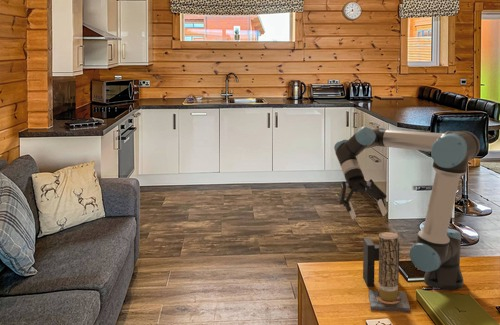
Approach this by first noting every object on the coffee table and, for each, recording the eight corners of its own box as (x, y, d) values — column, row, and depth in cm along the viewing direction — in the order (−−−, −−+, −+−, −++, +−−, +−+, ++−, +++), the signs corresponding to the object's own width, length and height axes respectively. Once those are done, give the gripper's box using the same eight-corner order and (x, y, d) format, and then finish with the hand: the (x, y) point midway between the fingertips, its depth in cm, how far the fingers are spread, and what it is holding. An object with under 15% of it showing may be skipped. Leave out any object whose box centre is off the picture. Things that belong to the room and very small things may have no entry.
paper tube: (398, 302, 183) (398, 238, 179) (379, 301, 184) (379, 237, 180) (397, 294, 189) (397, 232, 185) (378, 293, 191) (378, 232, 187)
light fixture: (401, 286, 200) (402, 245, 197) (367, 287, 201) (367, 245, 198) (395, 277, 210) (396, 237, 207) (362, 277, 211) (363, 237, 208)
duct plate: (405, 295, 192) (405, 291, 192) (409, 312, 179) (410, 307, 179) (368, 293, 195) (368, 289, 195) (370, 309, 181) (370, 305, 181)
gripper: (375, 175, 213) (393, 217, 201) (322, 179, 207) (338, 224, 195) (382, 165, 207) (401, 208, 195) (327, 169, 201) (344, 214, 189)
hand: (369, 216), depth 195 cm, fingers open, 13 cm apart
